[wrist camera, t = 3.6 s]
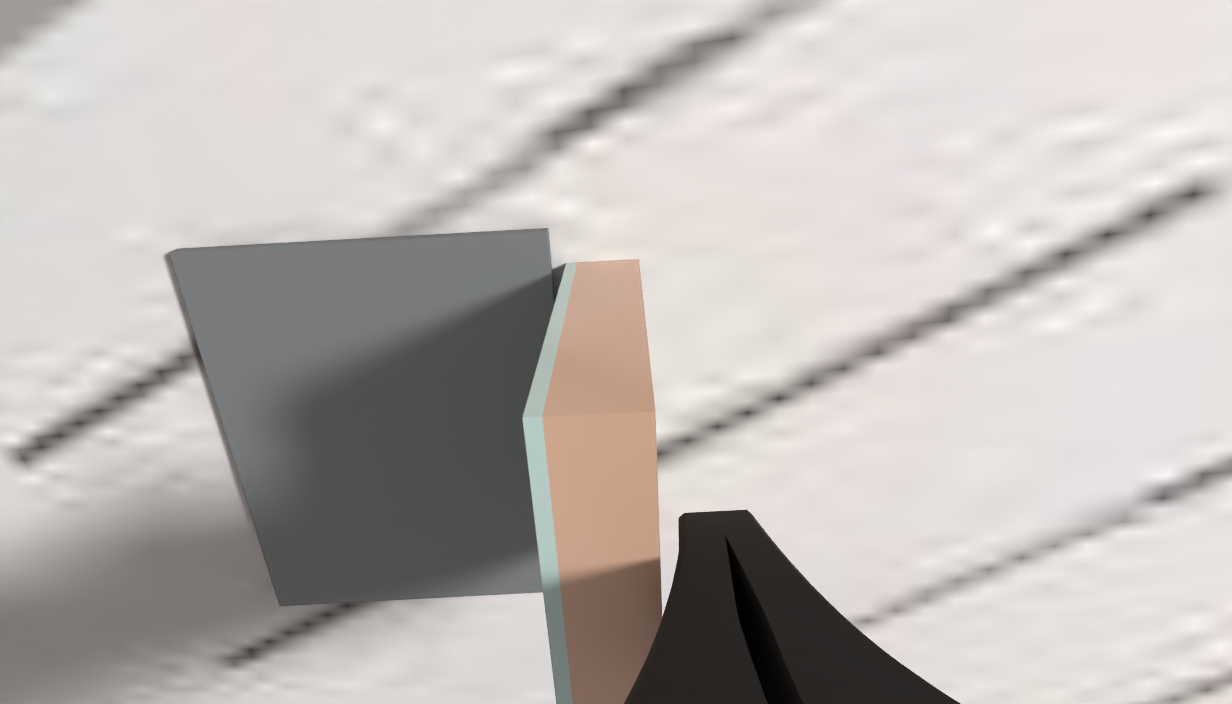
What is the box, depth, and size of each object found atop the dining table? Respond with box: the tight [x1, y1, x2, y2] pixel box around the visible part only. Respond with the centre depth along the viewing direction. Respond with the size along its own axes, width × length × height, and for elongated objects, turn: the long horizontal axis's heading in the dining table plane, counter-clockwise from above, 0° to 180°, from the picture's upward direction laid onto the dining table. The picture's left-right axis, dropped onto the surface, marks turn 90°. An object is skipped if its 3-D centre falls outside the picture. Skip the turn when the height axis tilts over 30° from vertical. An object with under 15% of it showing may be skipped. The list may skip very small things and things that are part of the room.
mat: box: [169, 228, 555, 606], centre depth 20 cm, size 12×10×1 cm
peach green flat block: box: [522, 259, 662, 704], centre depth 16 cm, size 8×2×9 cm, turn 3°
